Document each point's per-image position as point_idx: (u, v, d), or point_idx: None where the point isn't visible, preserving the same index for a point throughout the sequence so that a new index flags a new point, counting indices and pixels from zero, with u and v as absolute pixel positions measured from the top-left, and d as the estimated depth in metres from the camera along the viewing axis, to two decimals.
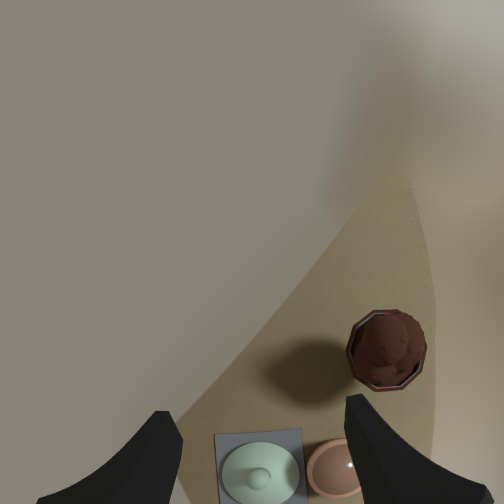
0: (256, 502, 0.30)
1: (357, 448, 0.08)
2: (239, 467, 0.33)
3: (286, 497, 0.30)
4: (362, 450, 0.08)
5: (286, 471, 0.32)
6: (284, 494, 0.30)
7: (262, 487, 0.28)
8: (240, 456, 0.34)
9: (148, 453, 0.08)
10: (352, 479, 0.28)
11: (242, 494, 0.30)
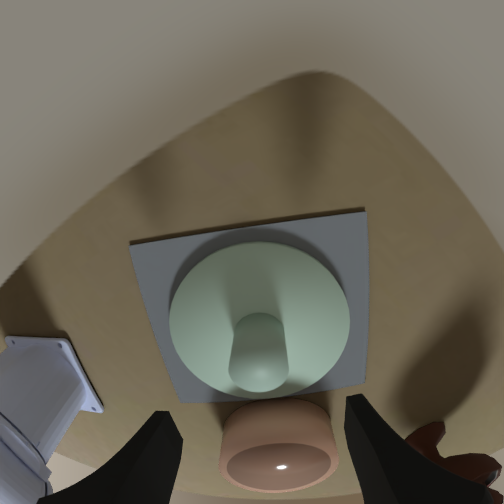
0: (184, 329, 0.17)
1: (357, 448, 0.08)
2: (279, 288, 0.16)
3: (208, 381, 0.18)
4: (362, 450, 0.08)
5: None
6: (215, 378, 0.18)
7: (240, 381, 0.14)
8: (313, 288, 0.16)
9: (148, 453, 0.08)
10: (258, 478, 0.18)
11: (200, 299, 0.17)
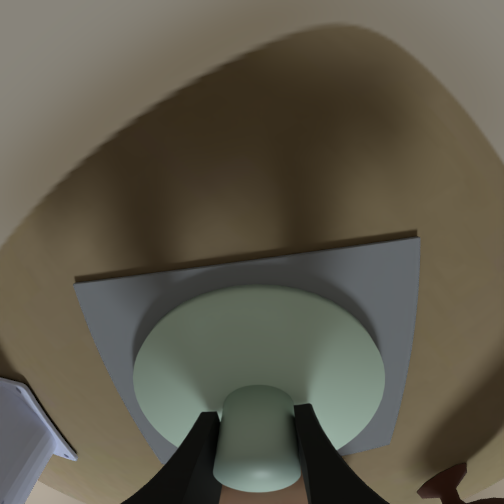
0: (154, 398, 0.11)
1: (301, 458, 0.08)
2: (289, 354, 0.10)
3: None
4: (302, 461, 0.08)
5: None
6: None
7: (231, 483, 0.08)
8: (338, 352, 0.10)
9: (203, 457, 0.08)
10: None
11: (172, 366, 0.11)
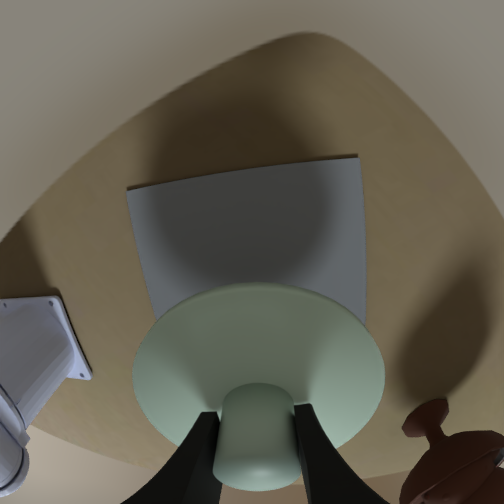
0: (154, 396, 0.11)
1: (301, 458, 0.08)
2: (288, 352, 0.10)
3: None
4: (303, 461, 0.08)
5: None
6: None
7: (230, 482, 0.08)
8: (338, 350, 0.10)
9: (203, 457, 0.08)
10: None
11: (171, 364, 0.11)
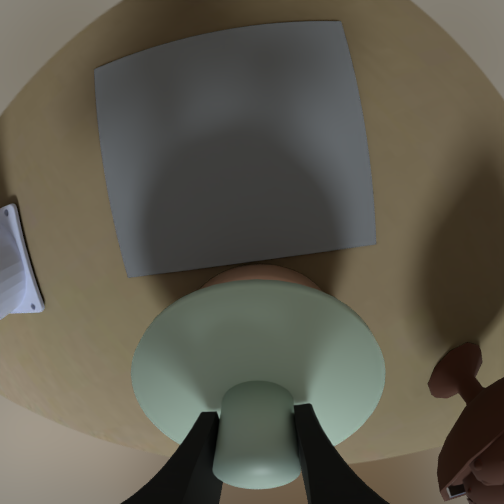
0: (153, 394, 0.11)
1: (301, 458, 0.08)
2: (289, 350, 0.10)
3: None
4: (302, 461, 0.08)
5: None
6: None
7: (230, 481, 0.08)
8: (339, 348, 0.10)
9: (203, 457, 0.08)
10: None
11: (170, 361, 0.10)
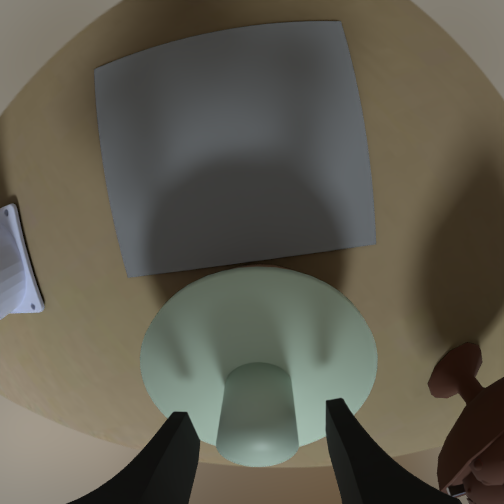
0: (160, 377, 0.12)
1: (335, 453, 0.08)
2: (287, 332, 0.11)
3: None
4: (339, 455, 0.08)
5: None
6: (203, 431, 0.13)
7: (232, 457, 0.09)
8: (333, 330, 0.11)
9: (169, 455, 0.08)
10: None
11: (178, 344, 0.12)
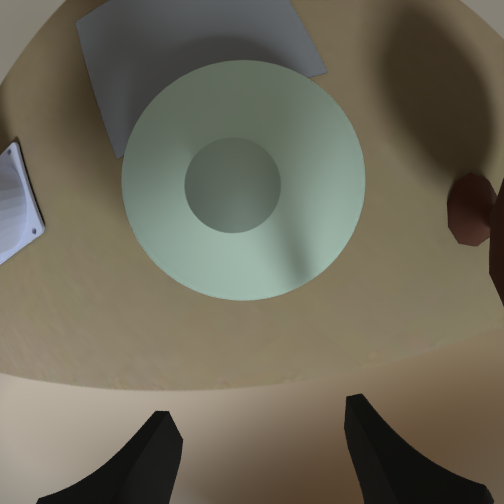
0: (141, 202, 0.13)
1: (357, 448, 0.08)
2: (249, 107, 0.11)
3: (189, 281, 0.14)
4: (362, 450, 0.08)
5: (281, 255, 0.13)
6: (197, 273, 0.13)
7: (208, 215, 0.09)
8: (292, 98, 0.11)
9: (148, 453, 0.08)
10: None
11: (154, 151, 0.12)
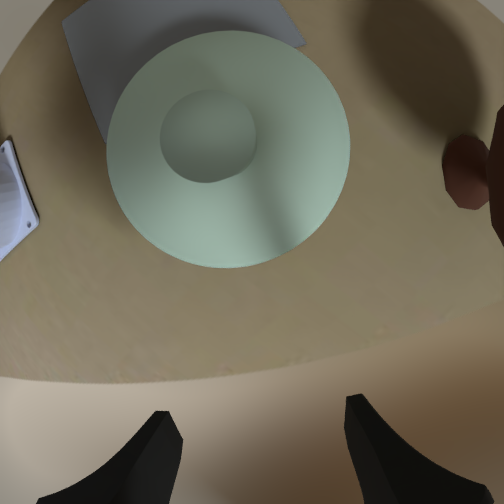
0: (126, 174, 0.12)
1: (357, 448, 0.08)
2: (226, 73, 0.11)
3: (177, 251, 0.13)
4: (362, 450, 0.08)
5: (268, 217, 0.13)
6: (185, 242, 0.13)
7: (184, 167, 0.09)
8: (268, 61, 0.11)
9: (148, 453, 0.08)
10: None
11: (136, 123, 0.12)
